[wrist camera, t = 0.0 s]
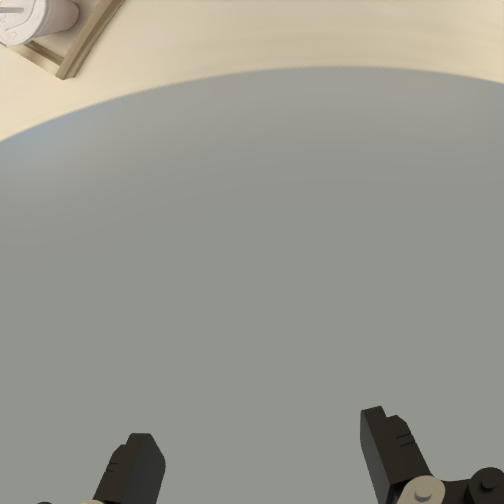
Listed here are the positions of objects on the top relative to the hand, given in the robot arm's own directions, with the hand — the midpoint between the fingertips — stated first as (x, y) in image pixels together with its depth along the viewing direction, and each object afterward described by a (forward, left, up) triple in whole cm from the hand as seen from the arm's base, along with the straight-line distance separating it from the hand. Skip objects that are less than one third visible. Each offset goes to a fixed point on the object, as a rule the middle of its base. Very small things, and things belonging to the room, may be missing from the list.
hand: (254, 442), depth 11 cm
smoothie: (-28, +2, -32) cm, 42 cm away
